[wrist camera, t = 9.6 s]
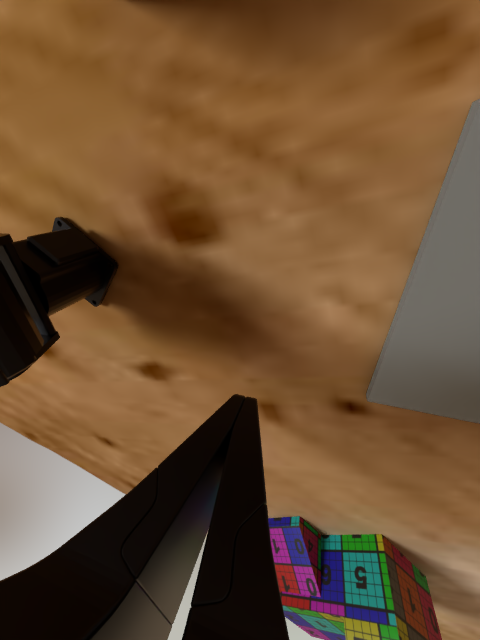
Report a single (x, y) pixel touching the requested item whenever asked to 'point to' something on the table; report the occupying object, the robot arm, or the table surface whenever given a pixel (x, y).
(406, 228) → the table surface
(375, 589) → the block puzzle
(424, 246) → the rubber mat
